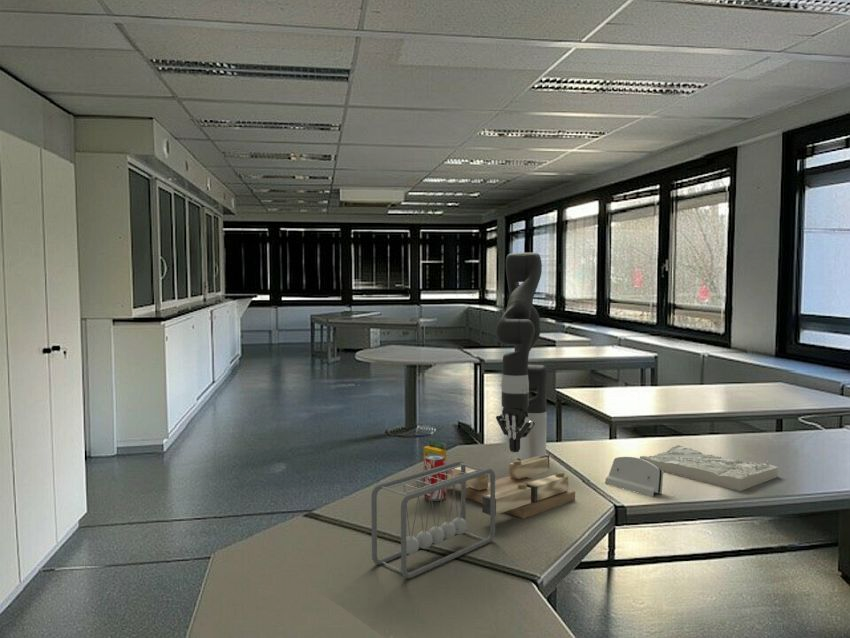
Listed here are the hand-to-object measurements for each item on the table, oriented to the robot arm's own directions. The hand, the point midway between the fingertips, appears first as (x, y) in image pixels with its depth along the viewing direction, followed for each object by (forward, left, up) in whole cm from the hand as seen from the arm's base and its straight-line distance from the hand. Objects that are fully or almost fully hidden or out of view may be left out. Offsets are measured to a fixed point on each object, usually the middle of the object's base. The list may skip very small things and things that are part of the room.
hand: (514, 451), depth 176 cm
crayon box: (-30, -3, -14) cm, 34 cm away
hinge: (+15, +37, -15) cm, 42 cm away
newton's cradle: (+12, -39, -14) cm, 44 cm away
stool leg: (+8, +5, -11) cm, 15 cm away
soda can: (-16, -15, -14) cm, 27 cm away
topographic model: (+21, +70, -15) cm, 74 cm away
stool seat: (-5, +3, -14) cm, 15 cm away
